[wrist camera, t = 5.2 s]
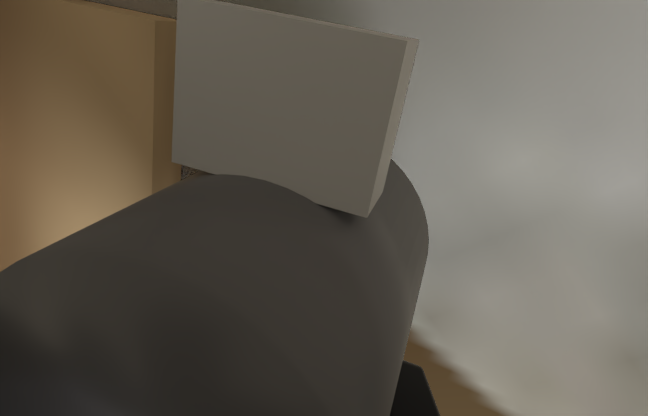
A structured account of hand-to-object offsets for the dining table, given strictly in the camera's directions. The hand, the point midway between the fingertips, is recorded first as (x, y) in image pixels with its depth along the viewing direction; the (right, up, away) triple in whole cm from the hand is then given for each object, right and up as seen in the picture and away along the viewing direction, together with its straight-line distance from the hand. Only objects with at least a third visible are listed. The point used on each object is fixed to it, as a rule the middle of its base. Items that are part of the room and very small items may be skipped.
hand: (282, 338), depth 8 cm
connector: (0, 0, +1) cm, 1 cm away
